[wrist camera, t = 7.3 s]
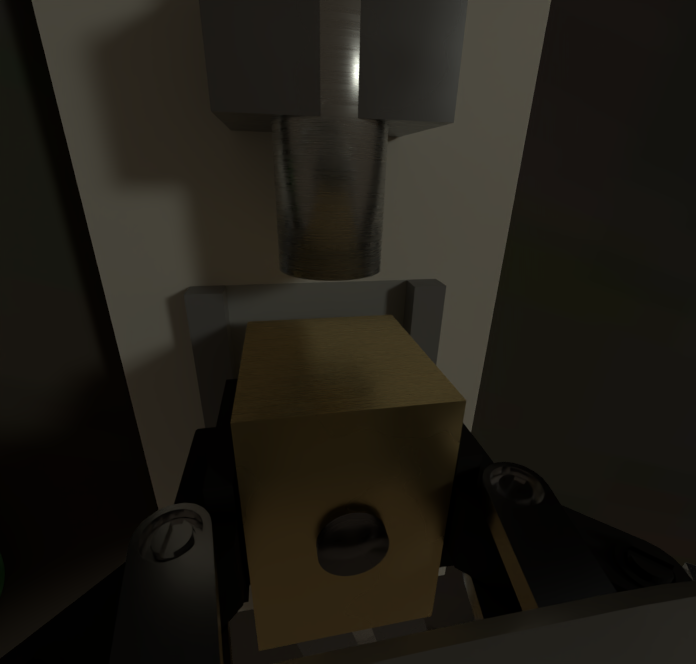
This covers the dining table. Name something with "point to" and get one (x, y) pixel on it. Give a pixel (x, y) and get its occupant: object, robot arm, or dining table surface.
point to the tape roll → (1, 574)
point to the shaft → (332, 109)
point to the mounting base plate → (271, 208)
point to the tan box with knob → (342, 474)
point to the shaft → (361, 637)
